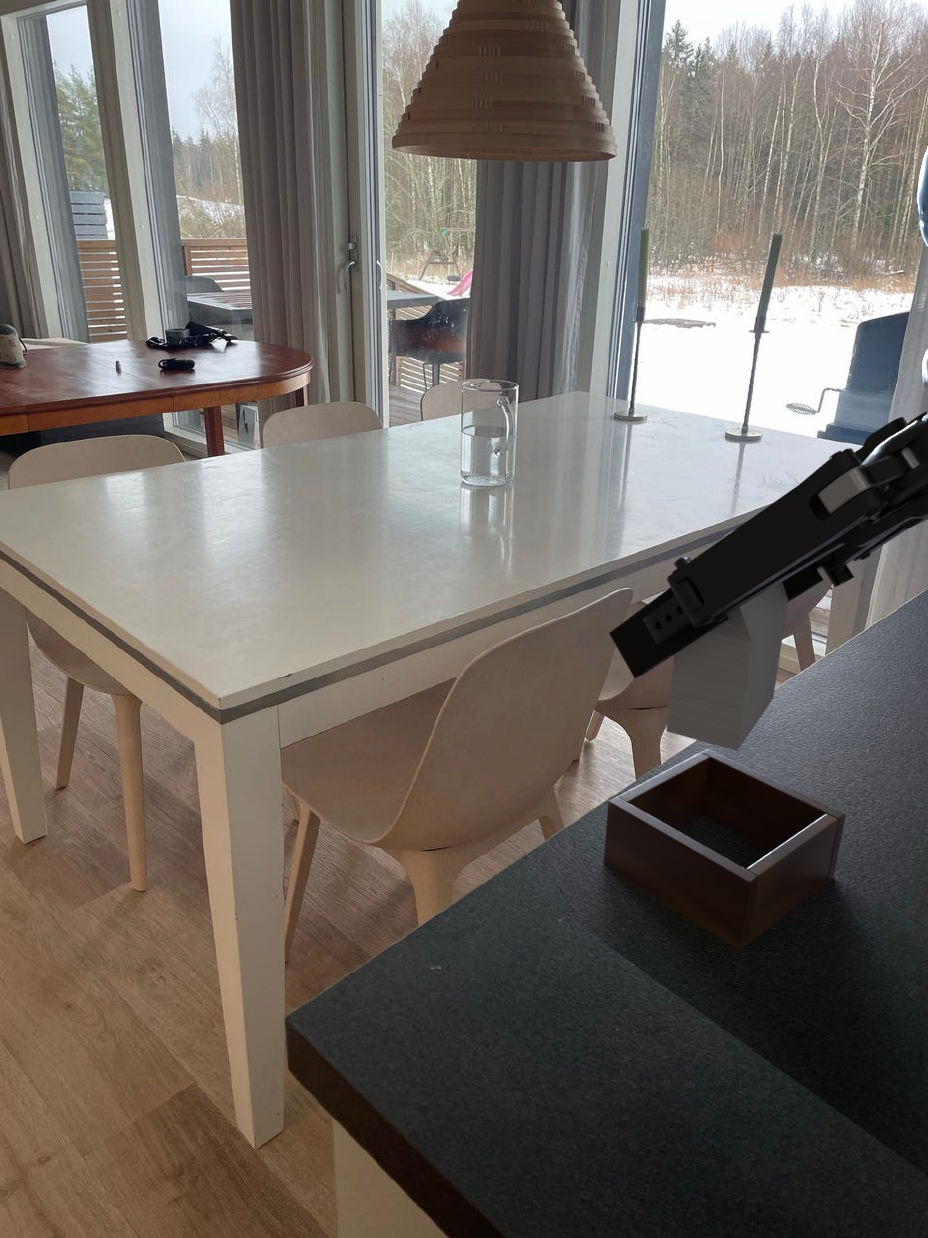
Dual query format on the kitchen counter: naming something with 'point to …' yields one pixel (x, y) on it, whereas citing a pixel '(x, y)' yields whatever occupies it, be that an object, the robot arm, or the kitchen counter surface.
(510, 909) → the kitchen counter surface
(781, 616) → the white faceted block
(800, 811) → the holder
